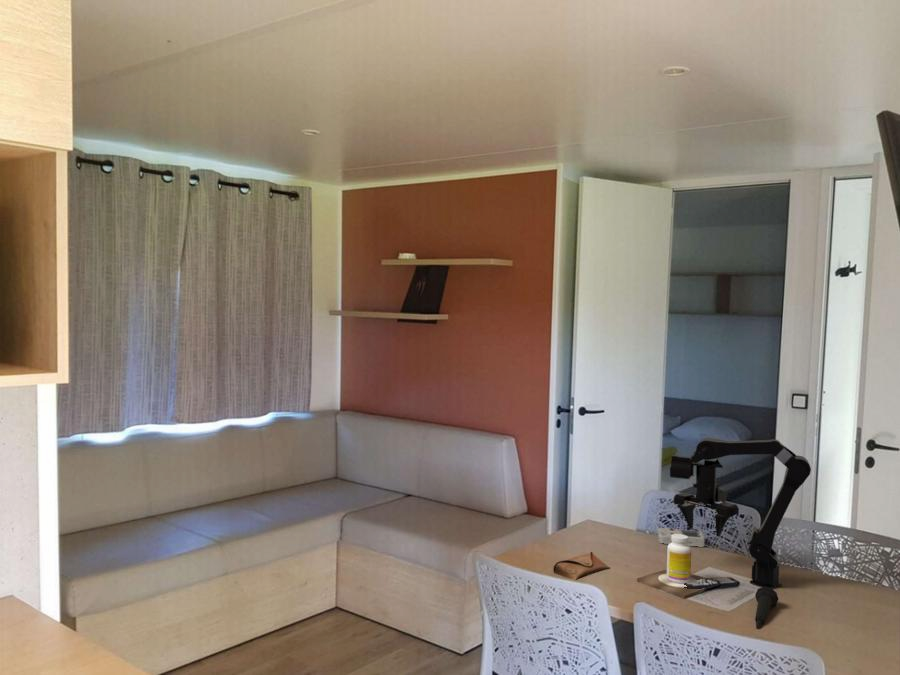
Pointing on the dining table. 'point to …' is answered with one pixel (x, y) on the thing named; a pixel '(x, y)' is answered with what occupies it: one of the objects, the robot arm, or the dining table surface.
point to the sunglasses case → (579, 566)
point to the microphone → (764, 603)
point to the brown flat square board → (670, 584)
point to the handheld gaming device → (693, 536)
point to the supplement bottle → (679, 559)
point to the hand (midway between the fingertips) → (704, 532)
